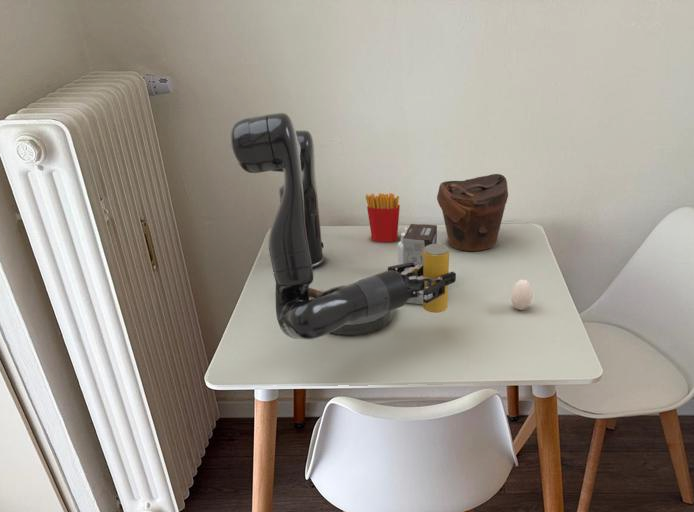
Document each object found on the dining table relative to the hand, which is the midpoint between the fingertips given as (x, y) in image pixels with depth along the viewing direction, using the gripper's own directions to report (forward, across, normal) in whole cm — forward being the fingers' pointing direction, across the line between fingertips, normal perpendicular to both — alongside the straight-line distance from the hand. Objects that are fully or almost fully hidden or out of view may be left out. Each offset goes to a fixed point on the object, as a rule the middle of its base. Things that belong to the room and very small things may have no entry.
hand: (445, 271), depth 136 cm
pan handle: (-19, +29, +12) cm, 36 cm away
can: (-3, 0, +8) cm, 8 cm away
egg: (+19, -5, +13) cm, 23 cm away
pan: (-13, +16, +13) cm, 25 cm away
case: (+33, +30, +14) cm, 47 cm away
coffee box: (+4, +14, +14) cm, 20 cm away
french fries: (+16, +47, +14) cm, 52 cm away
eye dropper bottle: (+8, +26, +14) cm, 30 cm away
